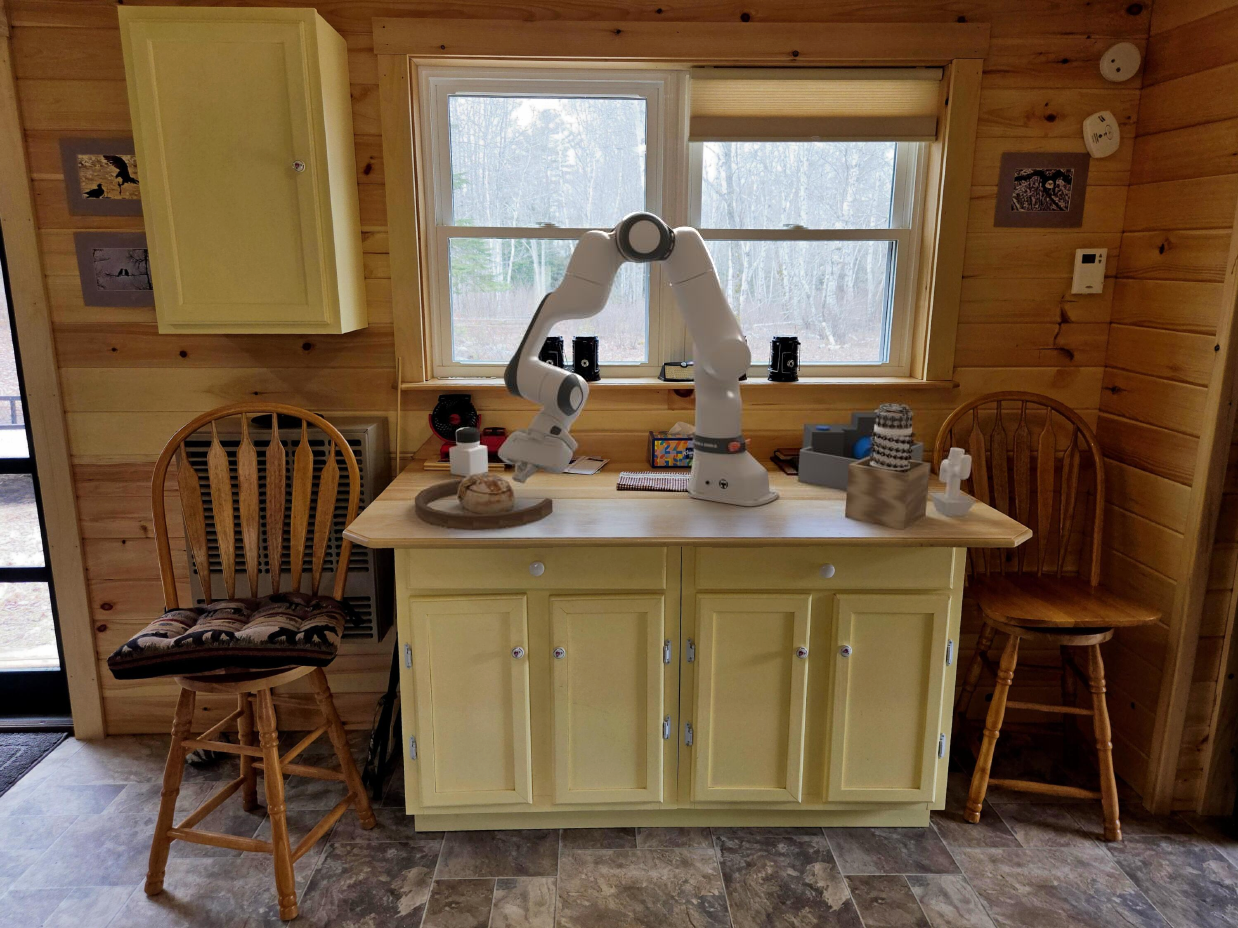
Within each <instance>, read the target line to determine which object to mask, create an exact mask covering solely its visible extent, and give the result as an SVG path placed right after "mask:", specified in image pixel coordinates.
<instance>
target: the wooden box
mask: <svg viewBox="0 0 1238 928" xmlns="http://www.w3.org/2000/svg"><path fill="white" fill-rule="evenodd" d="M870 460H871V458H870V456H868V457H866V458H863V459H861V460H859V461H856V462H854V463H851V464H849V470H848V483H847V491H846V499H845V512H844V518H849V519H854V520H856V521H857V520H858V521H861V522H866V523H872V524H874V525H876V524H877V525H880V526H884V527H888V528H892V529H898V530H904V529H905V528H907V527H909V526H911V525H912V524H914V523H915V522H917V521H918V520H920V519H922V518H924V517H925V516H926V515H927V513H926V512H927V504H928V496H929V484H930V483H929V482H930V475H931V467H932V463H931V462H925V461H922V462H920V461H914V460H908V462H907V463H909V464H910V468H908V469H907V472H906V473H901V472H895V471H890V470H884V469H878V468H873V467H872V466H871V465H870Z"/></svg>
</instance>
